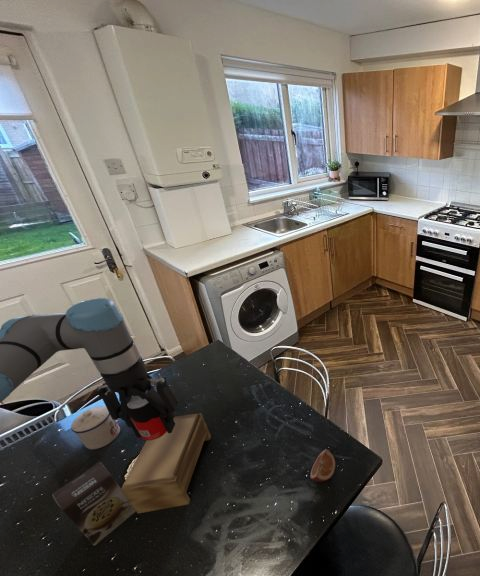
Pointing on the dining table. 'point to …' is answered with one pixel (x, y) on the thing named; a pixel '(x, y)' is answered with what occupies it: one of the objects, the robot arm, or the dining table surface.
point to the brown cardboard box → (94, 503)
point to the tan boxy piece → (166, 466)
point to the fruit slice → (323, 467)
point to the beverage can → (145, 418)
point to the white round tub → (95, 427)
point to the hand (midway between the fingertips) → (156, 430)
